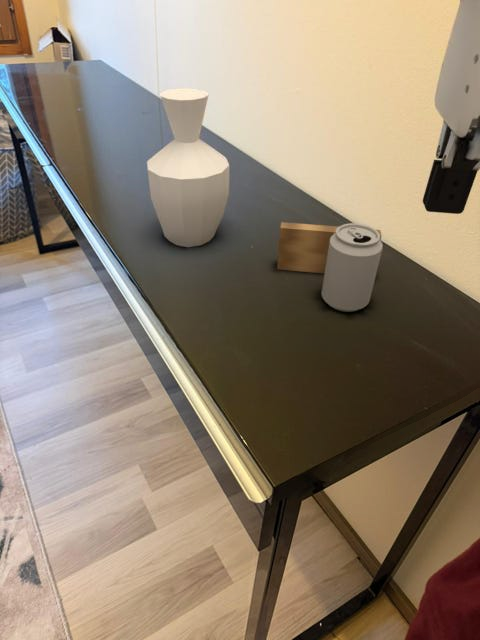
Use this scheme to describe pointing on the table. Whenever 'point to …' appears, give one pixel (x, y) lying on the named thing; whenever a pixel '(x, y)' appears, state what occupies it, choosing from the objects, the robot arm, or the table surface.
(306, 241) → the wooden board
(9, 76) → the table surface
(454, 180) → the robot arm
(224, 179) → the vase
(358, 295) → the can
